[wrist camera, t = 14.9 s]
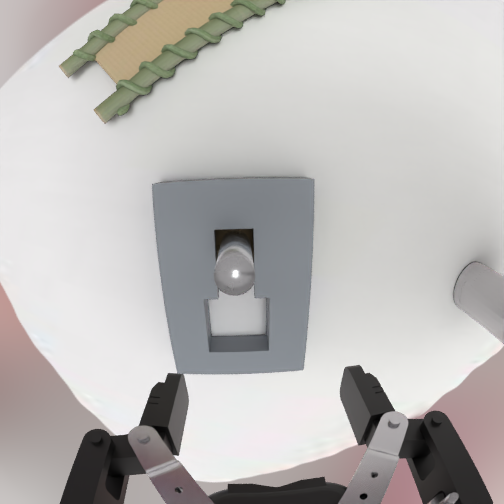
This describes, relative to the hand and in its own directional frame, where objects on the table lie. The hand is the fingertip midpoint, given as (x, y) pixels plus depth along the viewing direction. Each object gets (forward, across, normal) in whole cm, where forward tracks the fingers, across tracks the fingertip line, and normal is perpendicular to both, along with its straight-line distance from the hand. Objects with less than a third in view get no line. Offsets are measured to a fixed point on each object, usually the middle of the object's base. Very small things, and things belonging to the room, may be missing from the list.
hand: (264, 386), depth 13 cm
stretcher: (+25, +6, -35) cm, 43 cm away
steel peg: (+25, +2, -1) cm, 25 cm away
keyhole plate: (+25, +2, +4) cm, 25 cm away
